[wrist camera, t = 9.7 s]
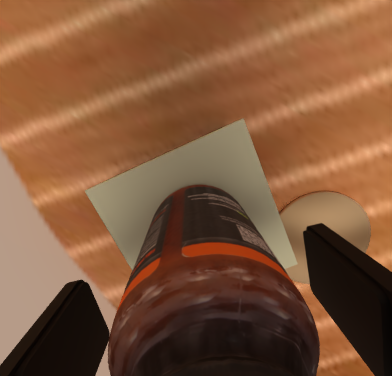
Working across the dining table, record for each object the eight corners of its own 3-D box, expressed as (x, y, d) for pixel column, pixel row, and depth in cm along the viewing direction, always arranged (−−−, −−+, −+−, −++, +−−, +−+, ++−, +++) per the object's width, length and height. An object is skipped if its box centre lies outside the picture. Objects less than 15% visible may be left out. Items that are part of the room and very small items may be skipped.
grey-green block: (112, 174, 19) (84, 190, 14) (228, 121, 18) (243, 118, 13) (167, 273, 21) (160, 317, 16) (271, 231, 20) (297, 264, 15)
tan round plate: (260, 204, 20) (262, 206, 19) (363, 180, 19) (368, 181, 19) (276, 289, 22) (278, 293, 21) (368, 268, 21) (372, 272, 21)
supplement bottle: (154, 267, 15) (57, 632, 4) (151, 180, 14) (-10, 397, 3) (242, 267, 15) (374, 621, 4) (249, 182, 14) (483, 393, 3)
